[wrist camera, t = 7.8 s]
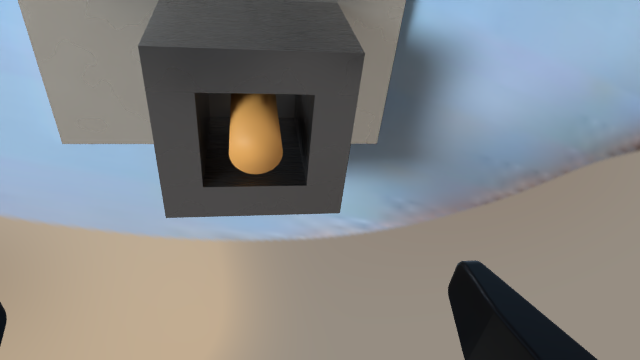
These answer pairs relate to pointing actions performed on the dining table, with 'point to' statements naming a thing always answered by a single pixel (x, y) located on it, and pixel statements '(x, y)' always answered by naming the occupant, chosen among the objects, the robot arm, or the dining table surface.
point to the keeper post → (254, 133)
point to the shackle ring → (250, 78)
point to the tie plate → (126, 73)
